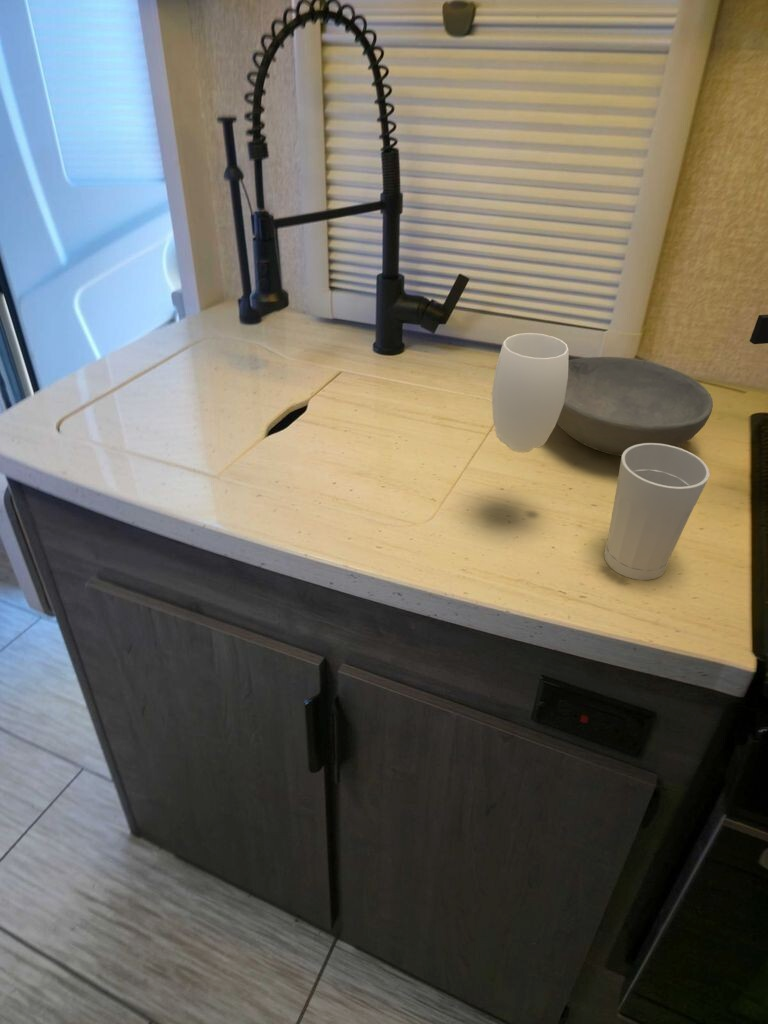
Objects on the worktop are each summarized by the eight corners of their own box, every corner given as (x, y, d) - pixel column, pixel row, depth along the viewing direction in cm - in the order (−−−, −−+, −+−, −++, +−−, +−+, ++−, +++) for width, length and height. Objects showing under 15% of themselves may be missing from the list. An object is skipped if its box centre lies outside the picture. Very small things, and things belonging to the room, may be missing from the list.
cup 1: (471, 500, 79) (489, 331, 66) (530, 496, 79) (560, 329, 67) (484, 538, 73) (508, 362, 60) (548, 534, 74) (585, 359, 61)
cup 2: (591, 573, 69) (617, 476, 61) (601, 529, 74) (626, 436, 67) (672, 594, 66) (709, 496, 59) (676, 546, 72) (710, 452, 65)
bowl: (516, 458, 86) (524, 402, 81) (552, 391, 101) (561, 341, 97) (689, 499, 79) (709, 441, 75) (700, 421, 95) (718, 369, 90)
